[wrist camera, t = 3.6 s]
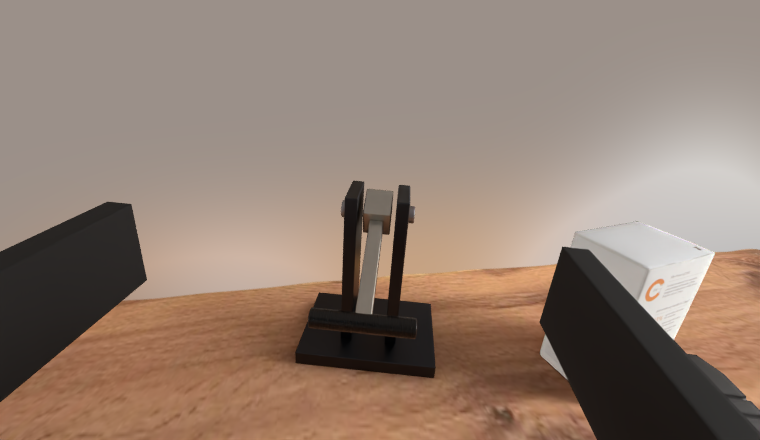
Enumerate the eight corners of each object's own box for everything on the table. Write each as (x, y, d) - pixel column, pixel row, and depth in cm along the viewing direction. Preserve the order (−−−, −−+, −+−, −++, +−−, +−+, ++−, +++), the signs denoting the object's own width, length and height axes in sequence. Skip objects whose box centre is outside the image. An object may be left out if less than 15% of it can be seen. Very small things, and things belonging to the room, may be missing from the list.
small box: (594, 334, 39) (637, 219, 33) (657, 380, 33) (720, 252, 28) (535, 353, 35) (573, 229, 30) (594, 407, 30) (651, 269, 25)
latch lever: (413, 346, 25) (417, 330, 23) (309, 334, 25) (305, 318, 23) (419, 212, 33) (422, 193, 31) (340, 205, 33) (338, 186, 31)
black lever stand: (434, 378, 32) (460, 219, 26) (295, 363, 32) (290, 204, 27) (429, 312, 40) (448, 181, 34) (318, 301, 41) (319, 169, 35)
